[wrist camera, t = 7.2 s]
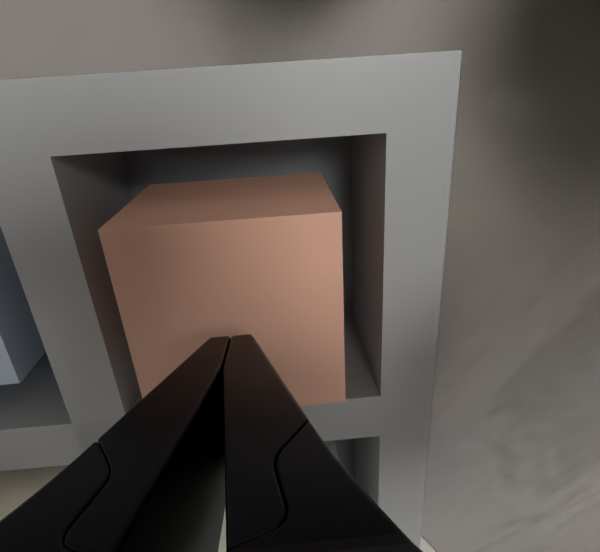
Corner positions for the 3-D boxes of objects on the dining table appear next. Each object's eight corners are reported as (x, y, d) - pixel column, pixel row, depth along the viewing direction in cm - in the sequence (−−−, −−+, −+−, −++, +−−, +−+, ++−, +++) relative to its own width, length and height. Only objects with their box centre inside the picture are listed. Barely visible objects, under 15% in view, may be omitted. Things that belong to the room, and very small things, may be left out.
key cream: (87, 436, 16) (31, 544, 13) (118, 524, 18) (78, 641, 15) (-49, 448, 16) (-148, 562, 12) (-3, 536, 18) (-75, 657, 14)
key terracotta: (320, 172, 13) (341, 211, 9) (326, 319, 15) (345, 401, 11) (150, 184, 13) (97, 230, 9) (180, 331, 15) (148, 419, 11)
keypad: (396, 60, 14) (461, 50, 9) (383, 489, 23) (415, 603, 18) (-236, 100, 14) (-521, 113, 9) (-9, 527, 22) (-90, 656, 17)
